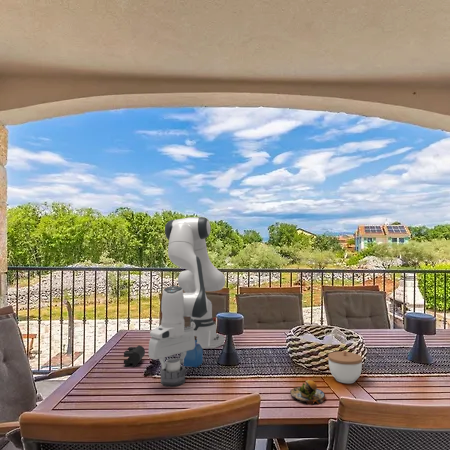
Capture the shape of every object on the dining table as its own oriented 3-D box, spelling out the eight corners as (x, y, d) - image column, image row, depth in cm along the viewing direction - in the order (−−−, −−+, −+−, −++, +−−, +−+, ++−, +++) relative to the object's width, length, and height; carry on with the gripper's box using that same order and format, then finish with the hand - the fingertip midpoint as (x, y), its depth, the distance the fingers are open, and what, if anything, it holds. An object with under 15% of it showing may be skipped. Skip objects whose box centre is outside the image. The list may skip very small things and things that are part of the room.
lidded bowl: (325, 374, 150) (324, 346, 150) (356, 374, 149) (356, 346, 150) (333, 386, 137) (332, 356, 138) (367, 386, 137) (366, 356, 137)
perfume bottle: (183, 365, 161) (183, 337, 162) (189, 361, 167) (189, 334, 167) (196, 367, 159) (196, 339, 160) (202, 363, 165) (202, 335, 165)
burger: (292, 389, 135) (291, 368, 135) (325, 393, 132) (325, 372, 132) (288, 403, 123) (287, 380, 124) (324, 407, 120) (324, 384, 120)
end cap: (139, 367, 160) (139, 351, 160) (123, 367, 160) (123, 351, 160) (145, 360, 170) (145, 345, 170) (129, 360, 170) (129, 345, 170)
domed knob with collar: (174, 375, 149) (174, 363, 149) (189, 381, 142) (189, 368, 143) (155, 382, 142) (155, 368, 142) (170, 388, 136) (170, 374, 136)
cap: (174, 370, 146) (174, 356, 147) (183, 373, 143) (183, 359, 143) (163, 374, 142) (163, 360, 143) (171, 377, 139) (171, 363, 139)
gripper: (188, 323, 153) (188, 357, 152) (146, 332, 138) (146, 370, 138) (198, 326, 149) (198, 361, 148) (156, 335, 134) (156, 374, 133)
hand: (172, 365), depth 143 cm, fingers open, 7 cm apart
